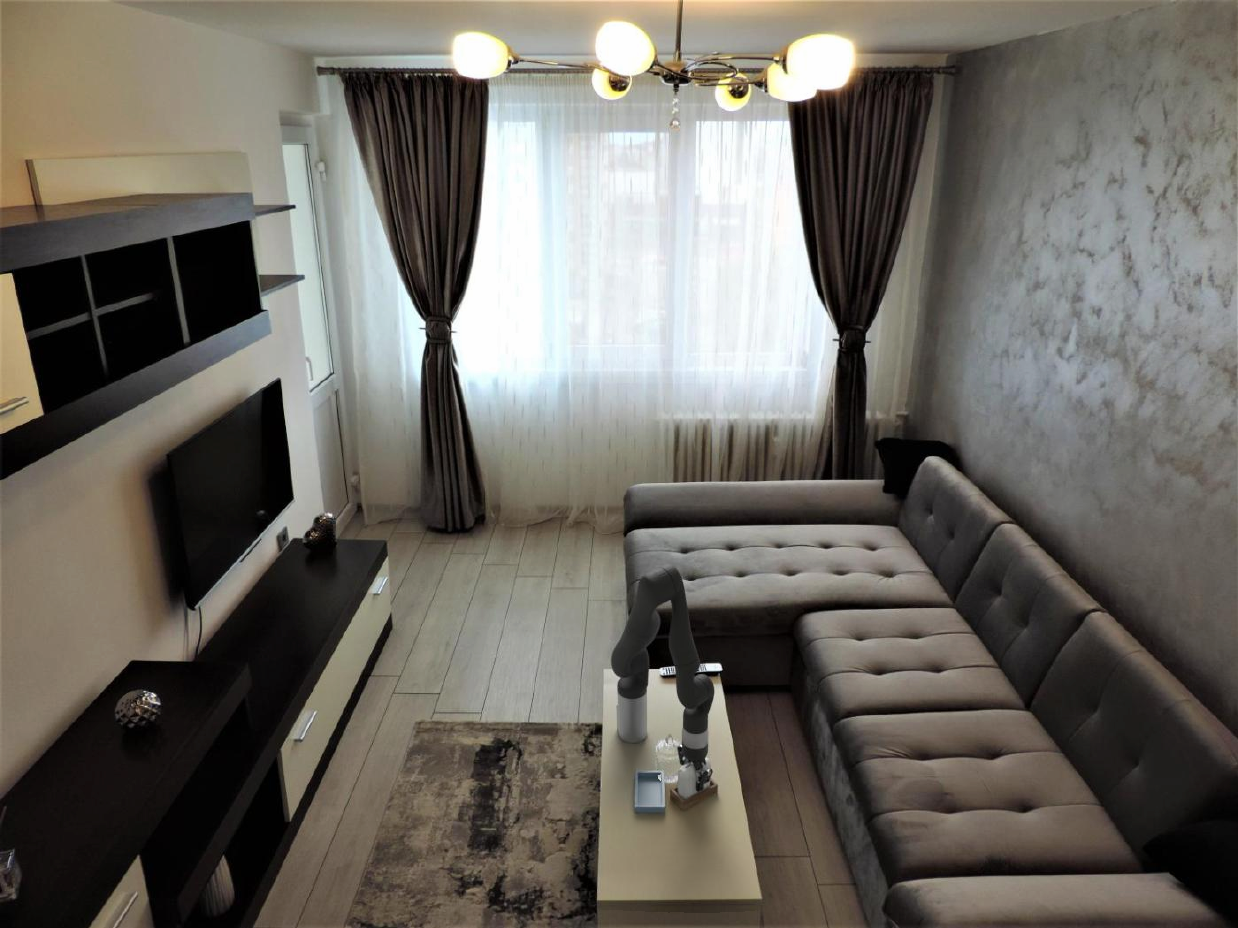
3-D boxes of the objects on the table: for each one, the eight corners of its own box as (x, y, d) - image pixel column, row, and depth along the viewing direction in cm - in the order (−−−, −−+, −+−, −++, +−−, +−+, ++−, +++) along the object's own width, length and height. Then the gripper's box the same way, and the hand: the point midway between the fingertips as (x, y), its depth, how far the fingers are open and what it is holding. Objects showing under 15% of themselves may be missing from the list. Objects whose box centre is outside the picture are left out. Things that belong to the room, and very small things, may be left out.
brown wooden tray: (670, 796, 253) (670, 788, 252) (703, 778, 259) (703, 770, 258) (683, 810, 248) (684, 803, 247) (717, 792, 254) (717, 784, 253)
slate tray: (635, 776, 260) (635, 770, 259) (663, 776, 260) (663, 770, 259) (634, 813, 247) (634, 806, 246) (665, 813, 247) (665, 806, 246)
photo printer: (703, 782, 258) (703, 750, 253) (712, 791, 254) (713, 758, 249) (675, 797, 253) (675, 764, 248) (684, 806, 249) (684, 773, 244)
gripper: (669, 729, 249) (668, 775, 256) (700, 758, 238) (699, 805, 245) (690, 719, 252) (689, 764, 259) (721, 747, 241) (719, 794, 248)
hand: (694, 784), depth 252 cm, fingers closed on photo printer, 4 cm apart
